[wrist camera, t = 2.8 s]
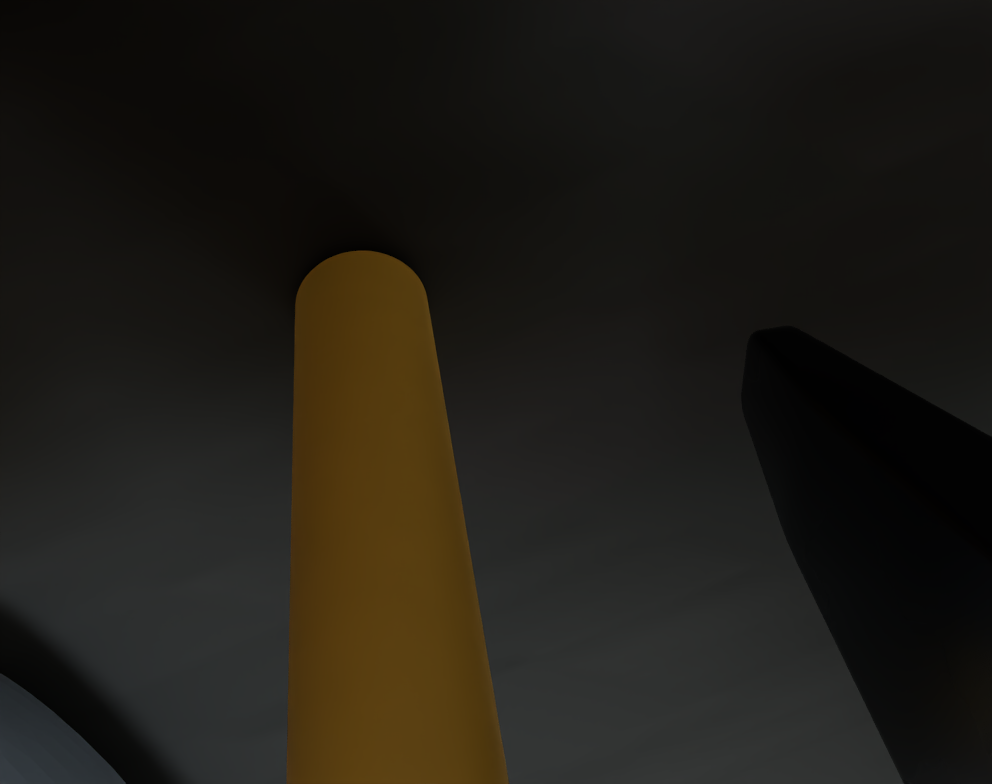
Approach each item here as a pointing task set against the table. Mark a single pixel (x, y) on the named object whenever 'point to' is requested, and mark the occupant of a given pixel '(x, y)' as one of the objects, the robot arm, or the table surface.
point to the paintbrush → (44, 745)
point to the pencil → (380, 547)
